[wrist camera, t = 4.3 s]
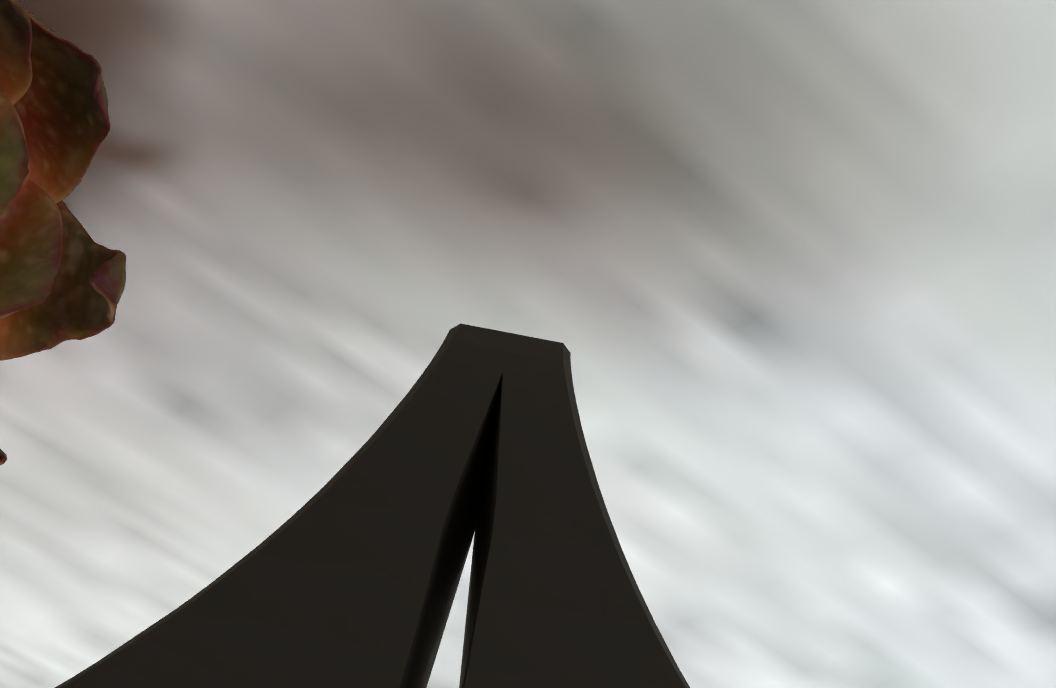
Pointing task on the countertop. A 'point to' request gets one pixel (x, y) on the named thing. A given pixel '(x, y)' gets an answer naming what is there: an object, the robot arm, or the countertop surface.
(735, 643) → the countertop surface
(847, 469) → the countertop surface
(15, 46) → the dragon fruit
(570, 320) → the countertop surface
